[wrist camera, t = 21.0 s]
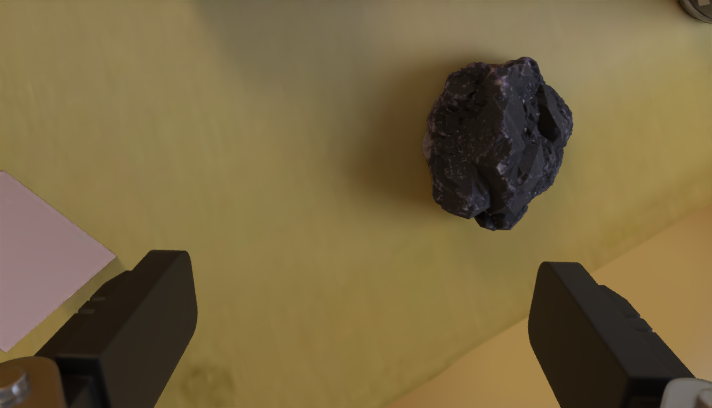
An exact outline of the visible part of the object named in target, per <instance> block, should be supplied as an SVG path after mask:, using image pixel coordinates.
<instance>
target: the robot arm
mask: <svg viewBox="0 0 712 408" xmlns="http://www.w3.org/2000/svg"><path fill="white" fill-rule="evenodd" d="M679 1H680V3H681V4H682V6H683V7H684V9H685V10H686V11H687V12H688V13H689V14H691V15H692V16H693V17H695V18H697V19H699V20H701V21H704V22H708V23H712V0H679ZM197 313H198V312H197V302H196V294H195V287H194V280H193V273H192V266H191V260H190V256H189V254H188V252H186V251H179V250H151V251H150V252H148V253H147V255H146V256H145V257H144V258H143V259H142V260H141V261H140V262H139V263H138V264H137V265H136V267H135V268H134V269H133V270H132V271H125V272H123V273H121V274H119V275H118V276H116V277H114V278H112V279H111V280H109V281H107V282H105V283H104V284H103V285H102V286H101V287H100V288H99V289H98V290H97V291H96V292H95V293H94V294H93V295H92V297H91V298H90V301H87V302H86V303H85V304H84V305H83V306H82V307H81V308H80V309H79V310H78V313H75V314H74V315H73V316H72V317H71V318H70V319H69V320H68V321H67V322H66V323H65V324H64V325H63V326H62V327H61V328H60V329H59V330H58V331H57V332H56V334H55V335H54V336H53V337H52V338H51V339H50V340H49V341H48V342H47V343H46V344H45V345H44V346H43V347H42V348H41V349H40V350H39V351H38V352H37V353H36V354H35V355H34V356H30V357H22V358H17V359H13V360H9V361H6V362H3V363H0V408H154V406H155V404H156V402H157V400H158V399H159V397H160V395H161V393H162V391H163V389H164V388H165V386H166V384H167V382H168V380H169V378H170V377H171V375H172V373H173V371H174V369H175V367H176V366H177V364H178V362H179V360H180V358H181V356H182V355H183V353H184V351H185V349H186V347H187V345H188V344H189V342H190V340H191V338H192V336H193V334H194V331H195V328H196V323H197ZM528 333H529V340H530V344H531V346H532V349H533V351H534V353H535V355H536V357H537V359H538V361H539V363H540V365H541V367H542V370H543V372H544V374H545V376H546V378H547V380H548V382H549V384H550V386H551V388H552V390H553V392H554V394H555V397H556V399H557V401H558V402H559V405H560V407H561V408H712V382H711V381H707V380H703V379H698V378H696V377H694V375H693V374H692V373H691V372H690V371H689V370H688V368H687V367H686V366H685V365H684V364H683V363H682V362H681V361H680V359H679V358H678V357H677V356H676V355H675V354H674V353H673V352H672V351H671V349H670V348H669V347H668V346H667V345H666V344H665V343H664V342H663V341H662V339H661V338H660V337H659V336H658V335H657V334H656V333H655V332H652V328H651V327H650V326H649V325H648V324H647V322H646V321H645V320H644V319H641V318H640V314H639V313H638V312H637V311H636V310H635V309H634V308H633V307H632V305H631V304H630V303H629V302H628V301H627V300H626V299H625V298H623V297H621V296H620V295H619V294H617V293H616V292H614V291H612V290H611V289H609V288H608V287H606V286H605V285H598V284H597V283H596V282H595V280H594V279H593V278H592V277H591V276H590V274H589V273H588V272H587V271H586V270H585V268H584V267H583V266H582V265H581V264H580V263H577V262H543V263H541V265H540V267H539V269H538V273H537V278H536V283H535V289H534V294H533V299H532V304H531V309H530V314H529V320H528Z"/></svg>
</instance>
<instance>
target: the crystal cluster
mask: <svg viewBox="0 0 712 408" xmlns="http://www.w3.org/2000/svg"><path fill="white" fill-rule="evenodd" d="M426 121H427V132H426V134H425V137H424V139H423V142H422V149H423V152H424V156H425V158H426V160H427V162H428V165H429V168H430V173H431V175H432V188H433V192H432V197H433V199H434V200H435V202H436V203H437V204H439V205H441V207H442V209H444V210H445V211H447V212H449V213H451V214H454V215H457V216H460V217H463V218H466V219H470V218H472V217H474V218H475V220H476V221H477V223H478V224H479V225H480V227H483V228H486V229H489V230H492V231H495V230H511V228H512V227H513V226H514V225H515V224H516V223H517V222H518V221H519V220H520V219H521V218H522V217H523V215H524V214H525V213H526V212H527V208H528V206H527V204H528V203H529V202H530V201H531V200H532V199H533V198H534V197H535V196H537V195H539V194H541V193H542V192H544V191H546V190H547V189H548V188H549V187H550V186H551V185H553V182H554V178H555V177H556V174H557V173H558V171H559V168H560V166H561V163H562V158H563V153H564V151H563V147H565V146H566V144H567V141H568V139H569V137H570V136H571V135H572V131H573V130H572V128H573V121H572V112H571V110H570V109H569V107H568V106H567V105H566V104H565V101H564V100H563V98H561V97H560V96H559V95H558V93H557V92H556V91H555V90H554V89H553V88H552V87H550V86H549V85H546V84H545V82H544V81H543V77H542V75H541V74H540V70H539V67H538V64H537V62H536V61H535V60H533V59H532V58H530V57H521V58H519V59H517V60H510V61H507V62H506V63H505V64H501V65H498V64H486V63H483V62H478V63H476V62H472V63H470V64H468V65H467V66H465V67H464V68H461V69H459V70H458V71H457V72H452V73H450V74H449V75H448V77H447V80H446V82H445V85H444V92H443V93H442V94H441V95H439V96H438V98H437V99H436V101H435V103H434V104H433V106H432V110H431V112H430V113H429V114H428V117H427V120H426Z"/></svg>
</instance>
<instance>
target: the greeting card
mask: <svg viewBox="0 0 712 408" xmlns="http://www.w3.org/2000/svg"><path fill="white" fill-rule="evenodd" d="M115 257H116V255H115V254H113V253H112V252H111V251H109V250H108V249H107V248H105V247H104V246H103V245H101V244H100V243H99V242H97V241H96V240H95V239H93V238H92V237H91V236H89V235H88V234H87V233H85V232H84V231H83V230H82V229H80V228H79V227H78V226H76V225H75V224H74V223H72V222H71V221H70V220H68V219H67V218H66V217H64V216H63V215H62V214H60V213H59V212H58V211H56V210H55V209H54V208H52V207H51V206H50V205H48V204H47V203H46V202H45V201H43V200H42V199H41V198H39V197H38V196H37V195H35V194H34V193H33V192H31V191H30V190H29V189H27V188H26V187H25V186H23V185H22V184H21V183H19V182H18V181H17V180H15V179H14V178H13V177H12V176H10V175H9V174H8V173H6V172H5V171H0V350H2V351H4V352H5V353H6V352H7V351H8V350H9V349H11V348H12V347H13V346H14V345H15V344H16V343H18V342H19V341H20V340H21V339H22V338H23V337H24V336H26V335H27V334H28V333H29V332H30V331H31V330H32V329H34V328H35V327H36V326H37V325H38V324H39V323H41V322H42V321H43V320H44V319H45V318H46V317H47V316H49V315H50V314H51V313H52V312H53V311H54V310H55V309H57V308H58V307H59V306H60V305H61V304H62V303H64V302H65V301H66V300H67V299H68V298H69V297H70V296H72V295H73V294H74V293H75V292H76V291H77V290H79V289H80V288H81V287H82V286H83V285H84V284H85V283H87V282H88V281H89V280H90V279H91V278H92V277H93V276H95V275H96V274H97V273H98V272H99V271H100V270H102V269H103V268H104V267H105V266H106V265H107V264H108V263H110V262H111V261H112V260H113V259H114V258H115Z"/></svg>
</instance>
